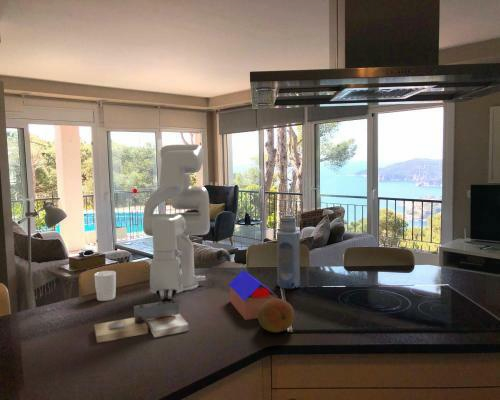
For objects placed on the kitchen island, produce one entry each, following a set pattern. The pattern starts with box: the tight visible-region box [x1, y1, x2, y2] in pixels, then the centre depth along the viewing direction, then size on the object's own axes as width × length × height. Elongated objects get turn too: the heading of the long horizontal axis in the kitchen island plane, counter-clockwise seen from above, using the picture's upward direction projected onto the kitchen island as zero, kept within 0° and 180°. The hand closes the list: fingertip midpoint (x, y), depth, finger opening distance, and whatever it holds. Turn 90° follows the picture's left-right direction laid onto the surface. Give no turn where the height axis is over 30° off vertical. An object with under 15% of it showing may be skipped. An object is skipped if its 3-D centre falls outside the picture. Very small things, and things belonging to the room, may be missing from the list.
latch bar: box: [133, 299, 180, 323], centre depth 124 cm, size 14×3×5 cm, turn 114°
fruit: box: [257, 297, 295, 333], centre depth 119 cm, size 12×13×10 cm
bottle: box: [276, 214, 301, 289], centre depth 165 cm, size 10×10×30 cm
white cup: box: [94, 270, 117, 302], centre depth 153 cm, size 8×8×10 cm
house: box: [228, 269, 278, 321], centre depth 139 cm, size 12×20×12 cm, turn 18°
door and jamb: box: [93, 313, 190, 344], centre depth 123 cm, size 26×18×2 cm
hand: (167, 309), depth 129 cm, fingers closed
